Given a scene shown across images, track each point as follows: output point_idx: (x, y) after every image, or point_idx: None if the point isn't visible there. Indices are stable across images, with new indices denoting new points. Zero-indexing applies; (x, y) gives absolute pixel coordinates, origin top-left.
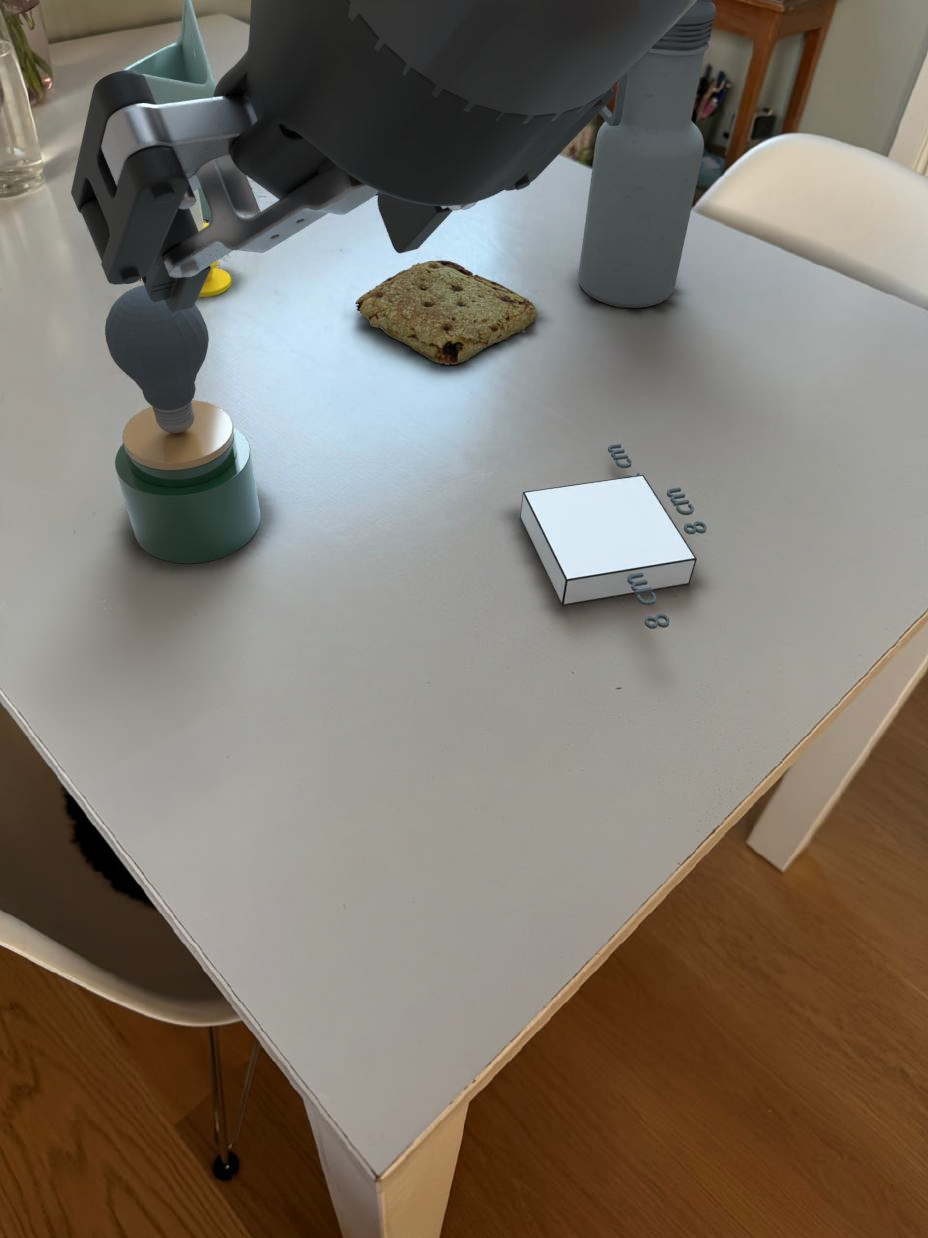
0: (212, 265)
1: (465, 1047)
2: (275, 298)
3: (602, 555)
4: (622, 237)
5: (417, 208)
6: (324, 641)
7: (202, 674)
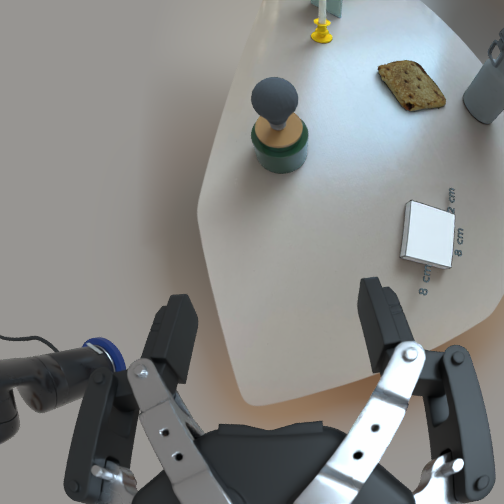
0: (325, 33)
1: (280, 395)
2: (347, 51)
3: (423, 249)
4: (484, 99)
5: (370, 344)
6: (306, 233)
7: (258, 229)
